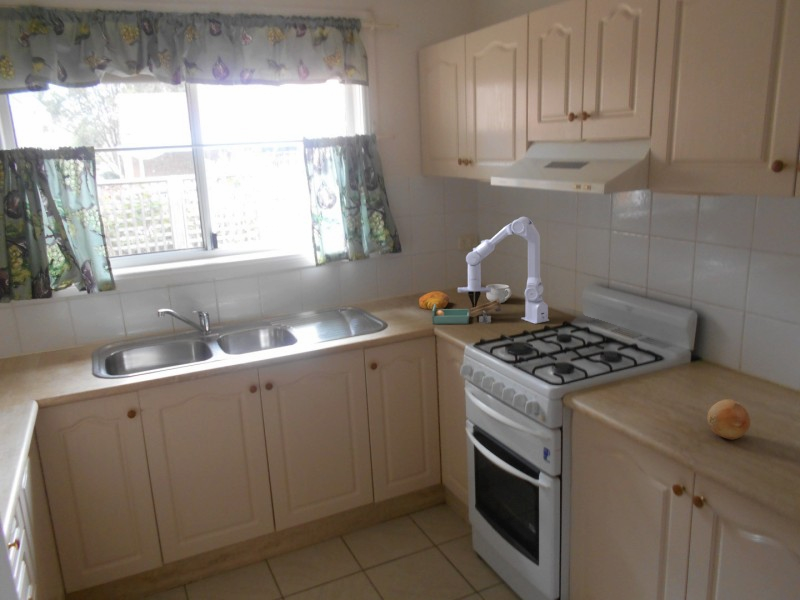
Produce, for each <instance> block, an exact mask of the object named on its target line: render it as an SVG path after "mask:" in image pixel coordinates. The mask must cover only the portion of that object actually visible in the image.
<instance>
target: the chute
mask: <svg viewBox="0 0 800 600" xmlns="http://www.w3.org/2000/svg"><path fill="white" fill-rule="evenodd" d="M501 305H502V303H500V301H499V298H497V300H495V301H492V302H490V301H489V302H487V303H484V304H481V305H477V306H476V307H475V306H474V308H473V307H472V308H469V315H470V316H471V318H473V317H476V316H481V315H483V311H486V312H487V313H488V312H492V311H495V313H499V312H501V311H502V307H501Z"/></svg>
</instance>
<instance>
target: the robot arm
mask: <svg viewBox="0 0 800 600" xmlns="http://www.w3.org/2000/svg"><path fill="white" fill-rule="evenodd" d="M509 235H511V236H512V235H517V236H520V237H522V238H523V239H524V240H525V241H527V281H526V286H525V287H526V288H525V290H524V294H523V295H524V297H525V307H524V308H525V309H524V310H525V314H524V315H525V316H524V317H523V316H522V317H521V318H520V319H521V320H523V321H526V322H528V323H532V324H536V325H537V324H540V323H545V322H549V321H550V319H549V306H548V304H547V303H546V302H544V299H543V296H542V295H543V293H544V291H545V290H544V288H545V287H544V286H543V284H542V278H541V235H540V233H539V231H538V230H537V228H536V226H535V225H534V222H533V221H532V220H531V219H530V218H529V217H526V216H520V217H519V218H518V219H514V220H513V221H512V222H511V223H509V224H507V225H505V226H504V227H503V228H502V229H500V231H498V232H497V233H496V234H495V235H494V236H492V238H490V239H482V240H481V241H480V244H479V245H477V246H476V247H473V248H472V251H470V252H468V253H467V255H466V256H465V262H466V263H467V286H463V287H457V293H467V296H468V298H469V300H470V303H471V305H472V306H471V307H472V308H475V307H477V306H478V305H477V304H478V301H479V300H480V299H479V298H480V297H481V293H486V292H488V293H491V287H486V286H482V281H481V280H482V277H481V275H482V271H481V270H482V267H481V263H482V261H483V259H485V258H486V257H488V255H490V254H491V253H492V252H493V251H495V248H496V245H497V244H498V243H500V242H501V241H502V240H503V239H505V238H506V237H508V236H509Z"/></svg>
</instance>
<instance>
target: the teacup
mask: <svg viewBox="0 0 800 600" xmlns="http://www.w3.org/2000/svg"><path fill="white" fill-rule="evenodd" d="M485 287H491V293H488V292H485V293H486V295H485V296H486V298H487V300H488V301H489V302H492V301H495V300H497V298H499V301H500V304H503V303H505V302H506V301H508V299H509V298H510V297H511V296H512V290H511V288H510V286H509V285H507V284H499V283H493V284H487V285H486V286H485Z"/></svg>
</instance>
